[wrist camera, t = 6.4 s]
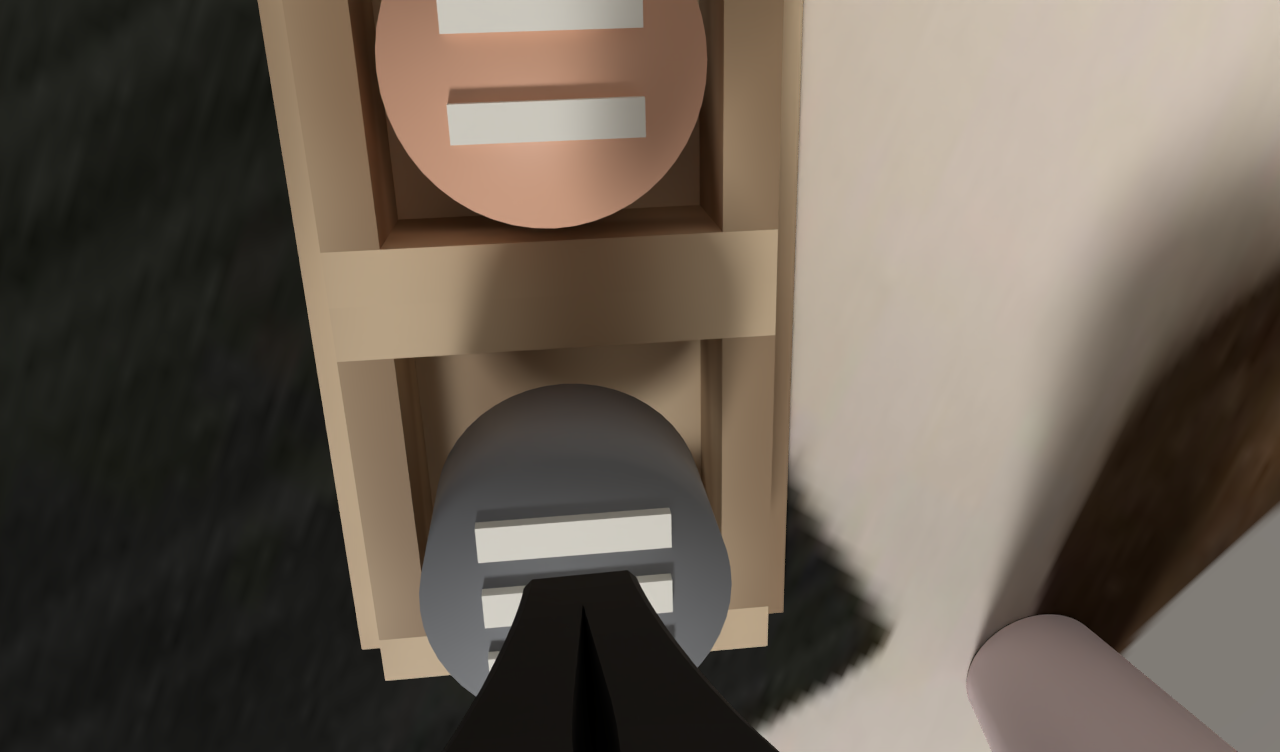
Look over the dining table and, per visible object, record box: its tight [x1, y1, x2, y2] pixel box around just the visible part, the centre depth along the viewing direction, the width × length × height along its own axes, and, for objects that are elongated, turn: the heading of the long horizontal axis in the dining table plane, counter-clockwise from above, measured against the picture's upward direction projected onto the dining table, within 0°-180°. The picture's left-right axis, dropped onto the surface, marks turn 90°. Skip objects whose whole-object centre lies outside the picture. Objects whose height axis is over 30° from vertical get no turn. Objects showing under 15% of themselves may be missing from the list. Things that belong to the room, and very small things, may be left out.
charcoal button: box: [419, 384, 732, 696], centre depth 17 cm, size 5×5×3 cm
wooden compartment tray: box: [258, 0, 803, 681], centre depth 17 cm, size 10×26×3 cm, turn 1°
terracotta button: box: [375, 0, 707, 228], centre depth 16 cm, size 5×5×3 cm
